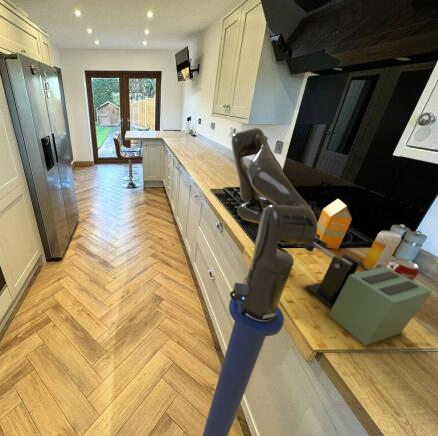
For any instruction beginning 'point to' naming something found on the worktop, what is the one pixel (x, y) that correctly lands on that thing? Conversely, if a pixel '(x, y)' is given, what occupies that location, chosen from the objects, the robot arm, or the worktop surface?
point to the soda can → (404, 267)
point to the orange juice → (334, 224)
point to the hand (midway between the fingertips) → (319, 247)
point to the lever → (329, 254)
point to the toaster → (377, 304)
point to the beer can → (381, 250)
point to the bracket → (333, 280)
